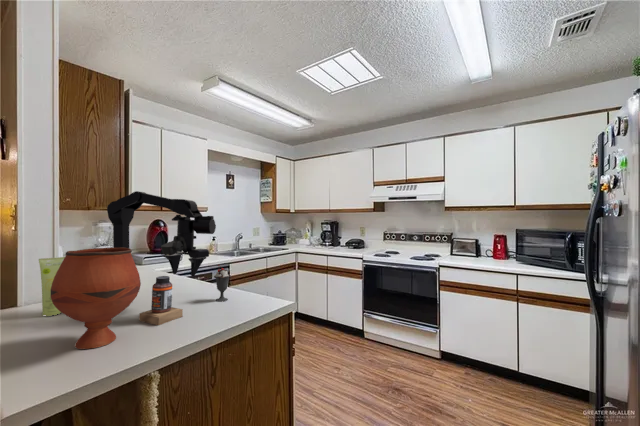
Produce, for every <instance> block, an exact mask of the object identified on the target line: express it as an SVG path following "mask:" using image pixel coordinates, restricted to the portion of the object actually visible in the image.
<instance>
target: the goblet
mask: <svg viewBox="0 0 640 426" xmlns="http://www.w3.org/2000/svg"><path fill="white" fill-rule="evenodd" d="M132 251H133V250H132V249H131V248H130V247H129V248H124V247H113V246H112V247H111V246H110V247H96V248H95V247H94V248H85V249H78V250H67V251H65V256H64V257H65V258H64V260H63V262H62V263H61V265H60V267H59V269H58V271H57V273H56V275H55V277H54V280H53V282H52V286H51V300H52V302H53V304H54V306H55V307H56V308H57V309H58V310H59V311H60V312H61V314H62V315H65V317H68V318H70V319H72V320H74V321H77V322H80V323H81V322H82V323H84V327H85V328H86V330H85V332H84V333H83V334H82V335H81V336H80V337H79V338H78V339H77V340H76V342H75V344H74V347H75V349H77V350H89V349H95V348H99V347H104V346H107V345H109V344H111V343H112V342H114V341H116V340H117V335H116V334H115V332H114V331H113V330H111V329H110V328H109V326H110V325H111V324H112V323H113V320H112V319H113V318H115V317H116V316H118V315H119V314H122V312H124V311H125V310H126V309H127V308H128V307H130V305H131V304H132V303H133V301H134V300H135V299H136V298H137V296H138V294H139V292H140V289H141V284H142V282H141V277H140V272H139V270H138V268H137V266H136V263H135V260H134V258H133V256H132Z"/></svg>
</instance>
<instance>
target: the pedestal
mask: <svg viewBox="0 0 640 426" xmlns="http://www.w3.org/2000/svg"><path fill="white" fill-rule="evenodd" d="M183 313H184V312H183V309H182V308H177V307H172V306H171V310H169V311H167V312H164V313H154V312H152V311H151V309H150V310H146V311H142V312H140V313H139V314H138V316H139V317H138V319H139V320H138V321H139V322H142V323H147V324H150V325H154V326H155V325H156V326H161V325H164V324H166V323H169V322H172V321H175V320H177V319H180V318H182V317H183V315H184V314H183Z"/></svg>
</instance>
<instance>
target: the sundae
mask: <svg viewBox="0 0 640 426" xmlns="http://www.w3.org/2000/svg"><path fill="white" fill-rule="evenodd" d="M217 266H218V267H220V268H221V269H220V268H218V269H217V272H216V273H215V275H214V276H213V277H214V279H215V283H216V289H217V291H219V293H220V296H219V298H216V299H215V301H216V302H217V303H219V302H222V301H223V302H226V301H229V298H227V297H225V296H224V293H225V291H226V290H227V289H228V287H229V280H230V277H231V276H232V275H231V270H228V271H227V269H225V268H223V267H221V266H220V264H217Z"/></svg>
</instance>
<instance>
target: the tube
mask: <svg viewBox="0 0 640 426" xmlns="http://www.w3.org/2000/svg"><path fill="white" fill-rule="evenodd" d="M64 258H65V256H62V257H61V256H58V257H45V258H38V263H39V269H40V270H39V271H40V280H41V301H42V304H41V305H42V306H41V307H42V316H43V315H46V316H45V317H53V316H52V315H54V316H57V314H58V315H61V314H62V313H61V312H60V311H59V310H58V309H57V308H56V307H55V306H54V304H53V302H52V300H51V286H52V282H53V280H54V277H55V275H56V273H57V271H58V269H59V267H60V265H61V263H62V262H63V260H64ZM60 313H61V314H60Z"/></svg>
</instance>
